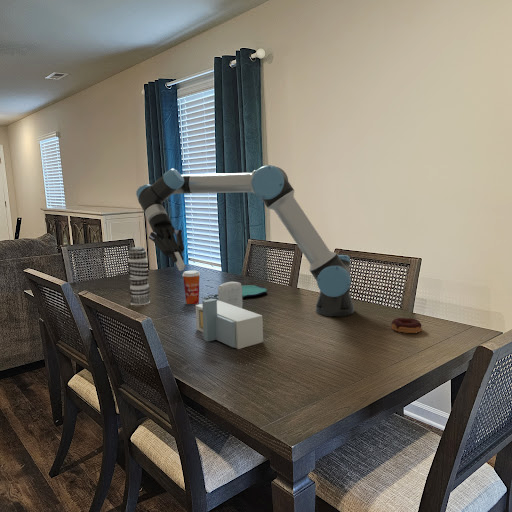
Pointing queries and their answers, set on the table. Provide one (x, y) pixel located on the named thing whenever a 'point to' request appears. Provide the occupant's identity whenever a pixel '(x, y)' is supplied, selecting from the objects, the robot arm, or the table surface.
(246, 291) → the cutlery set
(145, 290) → the decorative candle
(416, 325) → the donut
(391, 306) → the table surface
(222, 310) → the white rectangular block
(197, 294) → the paper cup
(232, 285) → the grey gravestone
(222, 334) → the side door
